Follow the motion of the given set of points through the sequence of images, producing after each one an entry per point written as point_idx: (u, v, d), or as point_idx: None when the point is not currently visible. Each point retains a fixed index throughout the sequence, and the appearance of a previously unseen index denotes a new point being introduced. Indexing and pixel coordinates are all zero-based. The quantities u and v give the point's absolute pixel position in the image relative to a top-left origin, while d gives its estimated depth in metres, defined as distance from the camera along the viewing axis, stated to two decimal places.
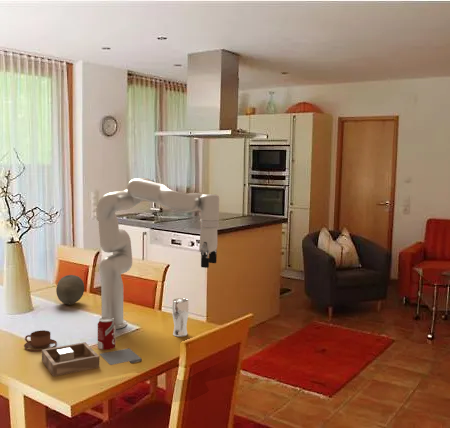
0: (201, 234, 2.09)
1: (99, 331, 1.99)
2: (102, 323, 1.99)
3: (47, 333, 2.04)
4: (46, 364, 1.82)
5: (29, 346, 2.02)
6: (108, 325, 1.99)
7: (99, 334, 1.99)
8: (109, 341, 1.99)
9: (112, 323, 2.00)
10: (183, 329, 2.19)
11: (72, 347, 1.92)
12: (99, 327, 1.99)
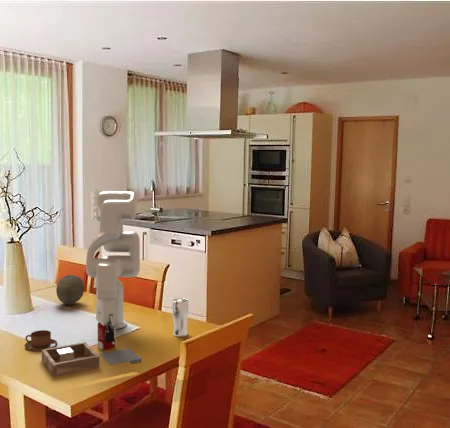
0: (106, 307, 1.96)
1: (99, 331, 1.99)
2: None
3: (47, 333, 2.04)
4: (46, 364, 1.82)
5: (29, 346, 2.02)
6: None
7: (99, 334, 1.99)
8: None
9: None
10: (183, 329, 2.19)
11: (72, 347, 1.92)
12: (99, 327, 1.99)
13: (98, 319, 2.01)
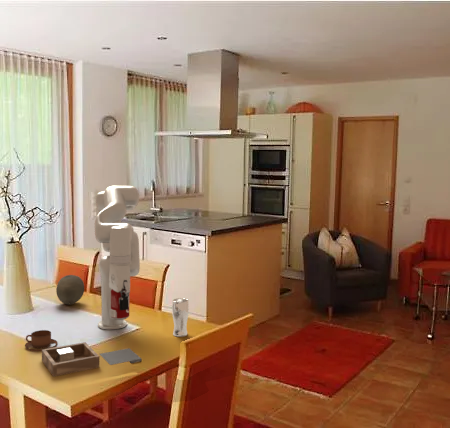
0: (120, 272, 1.85)
1: (112, 298, 1.88)
2: None
3: (48, 333, 2.05)
4: (46, 364, 1.82)
5: (30, 346, 2.02)
6: None
7: (112, 302, 1.88)
8: None
9: None
10: (183, 329, 2.19)
11: (72, 347, 1.92)
12: (112, 294, 1.88)
13: (111, 286, 1.90)
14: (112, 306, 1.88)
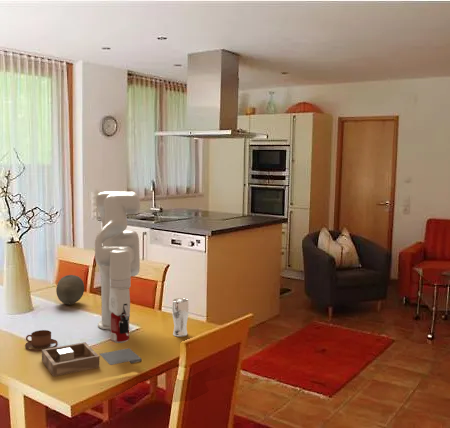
0: (120, 296, 1.86)
1: (112, 322, 1.89)
2: None
3: (48, 333, 2.05)
4: (46, 364, 1.82)
5: (30, 346, 2.02)
6: (122, 316, 1.88)
7: (112, 325, 1.89)
8: None
9: None
10: (183, 329, 2.19)
11: (72, 347, 1.92)
12: (112, 317, 1.89)
13: (111, 309, 1.91)
14: (112, 329, 1.89)
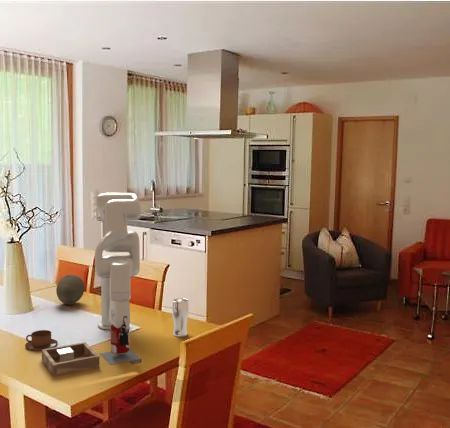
0: (120, 308, 1.86)
1: (112, 334, 1.90)
2: None
3: (48, 333, 2.05)
4: (46, 364, 1.82)
5: (30, 346, 2.02)
6: (122, 328, 1.89)
7: (112, 337, 1.90)
8: None
9: None
10: (183, 329, 2.19)
11: (72, 347, 1.92)
12: (112, 330, 1.89)
13: (111, 321, 1.91)
14: (112, 341, 1.90)
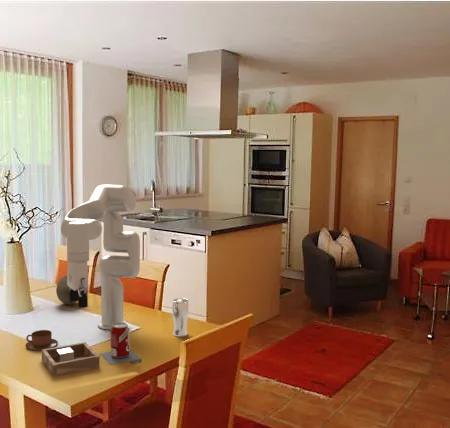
0: (77, 270, 1.78)
1: (112, 337, 1.90)
2: (116, 329, 1.89)
3: (48, 333, 2.05)
4: (46, 364, 1.82)
5: (30, 346, 2.02)
6: (122, 331, 1.89)
7: (112, 340, 1.90)
8: (123, 347, 1.90)
9: (126, 329, 1.91)
10: (183, 329, 2.19)
11: (72, 347, 1.92)
12: (112, 333, 1.90)
13: (69, 284, 1.83)
14: (112, 345, 1.90)
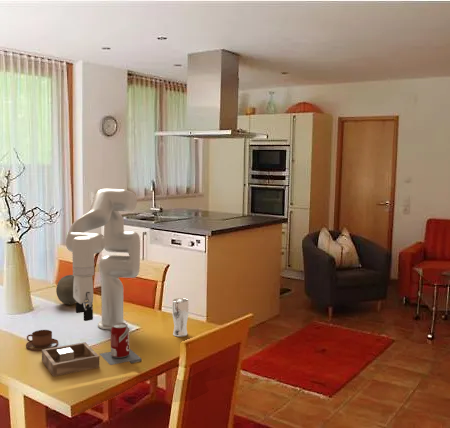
0: (82, 284, 1.82)
1: (112, 337, 1.90)
2: (116, 329, 1.89)
3: (49, 332, 2.05)
4: (46, 364, 1.82)
5: (31, 345, 2.03)
6: (122, 331, 1.89)
7: (112, 340, 1.90)
8: (123, 347, 1.90)
9: (126, 329, 1.91)
10: (183, 329, 2.19)
11: (72, 347, 1.92)
12: (112, 333, 1.90)
13: (75, 297, 1.88)
14: (112, 345, 1.90)
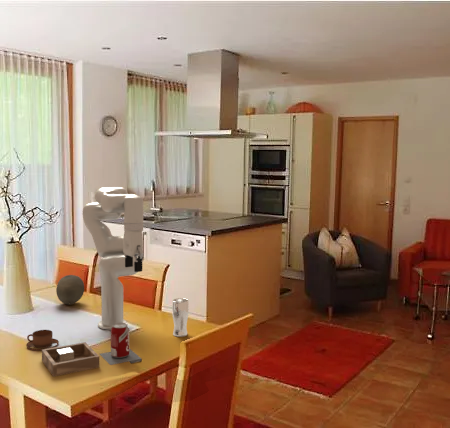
0: (133, 238, 2.01)
1: (112, 337, 1.90)
2: (116, 329, 1.89)
3: (49, 332, 2.05)
4: (46, 364, 1.82)
5: (31, 345, 2.03)
6: (122, 332, 1.89)
7: (112, 340, 1.90)
8: (123, 347, 1.90)
9: (126, 329, 1.91)
10: (183, 329, 2.19)
11: (72, 347, 1.92)
12: (112, 333, 1.90)
13: (125, 251, 2.06)
14: (112, 345, 1.90)
